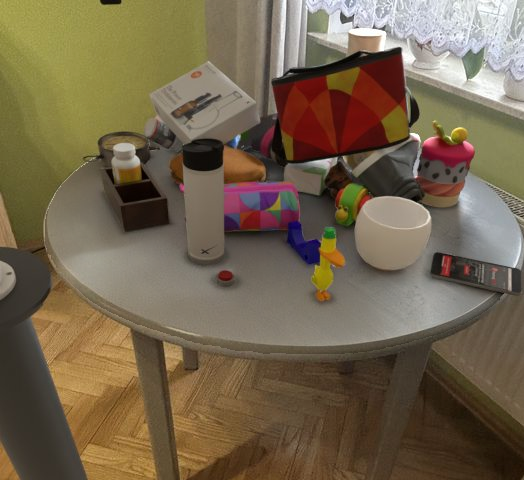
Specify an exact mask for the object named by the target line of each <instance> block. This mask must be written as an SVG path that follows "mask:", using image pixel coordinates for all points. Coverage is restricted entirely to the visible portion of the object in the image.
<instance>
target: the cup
mask: <svg viewBox="0 0 524 480" xmlns="http://www.w3.org/2000/svg"><path fill="white" fill-rule="evenodd" d="M431 231H432V217H431V214H430V211H429V210H428V209H427V208H426V207H424V206H423V204H420V203H419V202H418V203H416V202H414V201H412V200H409V199H405V198H401V197H392V196H383V197H375V198H373V199H370V200H368V201H366V203H365V204H364V205H363V206H362V208H361V210H360V212H359V214H358V216H357V219H356V221H355V226H354V240H355V248H356V251H357V253H358V254H359V256H360V257H361V259H362V260H363V261H364V262H365V263H367V264H369V265H370V266H371V267H374V269H377V270H381V271H388V272H389V271H397V270H402V269H405V268H406V267H408V266H411V265H412V264H413V263H415V262H416V261H417V260H418V259H419V258H420V256H421V254H422V253H423V252H424V251H425V248H426V246H427V244H428V242H429V238H430V235H431Z"/></svg>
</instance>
